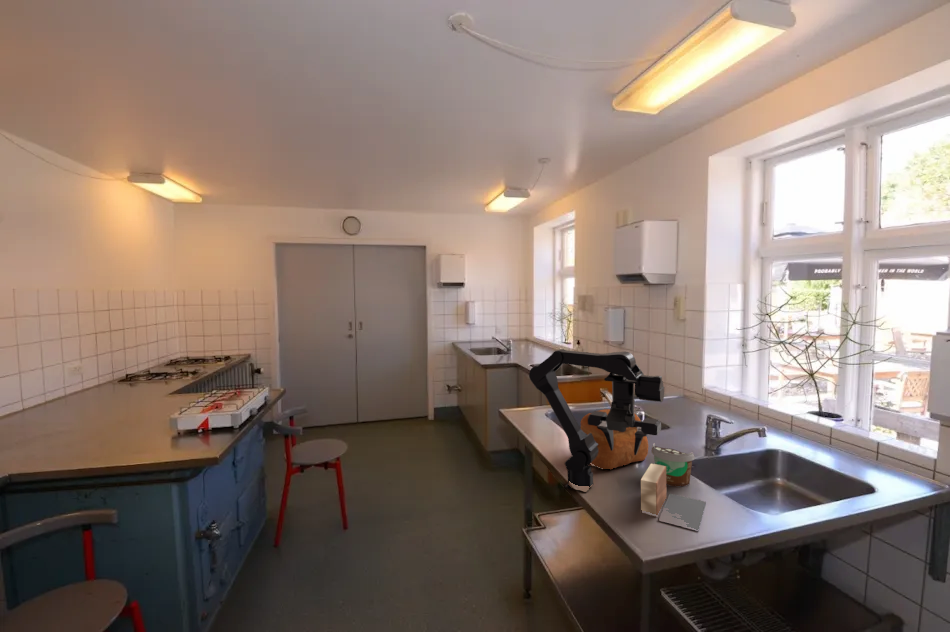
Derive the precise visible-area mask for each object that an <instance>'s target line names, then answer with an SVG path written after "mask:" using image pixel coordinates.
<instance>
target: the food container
mask: <svg viewBox="0 0 950 632" xmlns="http://www.w3.org/2000/svg"><path fill="white" fill-rule="evenodd" d="M651 454H652V455H653V459H654V464H657V465H662V466H666V484H667V485H666V486H669V485H670V486H671V487H676V486H681V487H686V485H687V486H689V485H690V481H691V475H692V474H691V473H692V466H693V461H694V460H695V454H694V452H693V451H691V452H690V453H689V452H688V453H686V452H682V451H680V450H676V449H673V448H668V447H667V448H666V447H660V446H657V445H656V443H655V442H654V443H653V444H652V446H651ZM688 484H689V485H688Z"/></svg>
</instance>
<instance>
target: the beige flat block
mask: <svg viewBox="0 0 950 632" xmlns="http://www.w3.org/2000/svg"><path fill="white" fill-rule="evenodd" d="M665 499H666V500H667V485H666V466H662V465H657V464H655V463H650V464H649V466H648V468H647V469H646V470H645V472H644V474H643V475H642V477H641V479H640V511H641V510H642V511H646V512H650V513H652V514H656V515H658V513H659V511H660V509H661V510H662V508H663V506H664V504H665V502H666V500H665ZM664 501H665V502H664ZM663 503H664V504H663ZM662 505H663V506H662ZM661 507H662V508H661ZM660 512H661V511H660ZM659 514H660V513H659ZM658 516H659V515H658Z"/></svg>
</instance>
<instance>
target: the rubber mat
mask: <svg viewBox="0 0 950 632" xmlns="http://www.w3.org/2000/svg"><path fill="white" fill-rule="evenodd" d="M706 503H707V502H706V501H704V500H700V499H695V498H691V497H687V496H683V495H677V494H673V493H669V495H668V496H667V497H666V500H665V502H664V504H663V507H664V508H668V509H669V510H666V511H668V512H669V513H671V514H675V513H677V514H679V515H682V516H680V517H681V518H677V517H676V516H672V517H674V518H677V519H681V520H684V522H686V523H689V524H686V525H687V527H691V528H694V529H696V530H698V529H699V530H700V527H699V526H701V523H702V519H703V516H702V515H704V512H705V508H706ZM703 511H704V512H703ZM700 522H701V523H700ZM699 530H698V531H699Z"/></svg>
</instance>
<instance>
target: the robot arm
mask: <svg viewBox="0 0 950 632" xmlns="http://www.w3.org/2000/svg"><path fill="white" fill-rule="evenodd" d="M562 365H570V366H571V365H572V366H577V367H579V366H580V367H587V368H588V367H589V368H597V369H601V370H603V371H605V372H607V373H609V374H608V375H607V376H606V377H604V381H605V382H611V385H612V387H611V389H612V391H611V393H612V395H611V396H612V397H611V398H612V400H611V404H610V408H609V409H610V412H609V413H608V415H607V413H606V412H600V411H599V410H594V411H592V412H590V413H591V414H590V415H589V416H588V425H593V426H597V428H598V429H600V430H602V431H603V433H604V435H605V437H606V439H607V442H608V444H609V447H610V450H611V451H612V450H613V446H614V438H613V430H615V431H619V432H624V431H626V428H629V427H632V428H633V427H636V428H637V429H638V430H637V431H636V433H635V446H634V455H636V454H637V452H638V449H639V447H640V444H641V441H642V439H643V437H644V436H646V437H647V436H649V435H650V436H658V435H659V433H660V432H661V431H662V422H661V421H660V420H659V419H656V418H650V417H645V418H644V419H643V420H641V421H637V420H635V414H636V413H635V404H636V402H635V401H636V399H635V396H636V398H638V400H640V401H648V402H656V403H663V402H664V399H665V386H664V382H663V376H662V375H644V373H643V371H642V370H641V368H640V367H639V365H638V364H637V362H636V358H635V356H634V355H633V354H632V353H631V352H630V351H616V352H615V351H614V352H608V353H607V352H605V353H599V352H598V353H597V352H585V351H577V350H576V351H575V350H567V349H563V348H561V349H557V350H555V351H553V352H552V353H551V355H550V356H548V357H547V358H546V359H545V360H543V361H542V362H541V363H540V364H538V365H536V366H535V365H534V366H533V367H531V368H530V370H529V374H528V378H529V380H530V382H531V383H532V384H533V386H534V387H535V388H536V390H538V391H539V392H540V393H541V394H543V395H544V396H545V398H546V400H547V402H548V404H549V405H550V406H549V407H550V408H551V409H552V411H553V413H554V415H555V417H556V418H557V420H558V422H559V424H560V426H561V428H562V429H563V431H564V433H565V434H566V435H565V436H566V437H567V440H568V449H569V452H570V454H571V456H570V457H569V458H568V459H566V461H565V462H564V465H565V469H566V470H567V484H565V488H566V489H569V490H570V489H571V487H570V486H569V485H568V482H569V481H570V482H571V483H573V484H575V485H578V486H589V487H590V486H591V485H592V484H593V485H594V472H593V471H592V466H591V465H589V464H590V463H591V462H592V461H593V460H594V459H595V458H596V457H597V455H598V452H599V450H598V447H597V446H598V443H596V441H595V440H594V437H593V435H592V433H589V434H588V435H587V434H586V433H585V432H583V431H582V429H581V428H580V427H581V425H580V424H579V422H578V420H577V419H576V417H575V416H574V414H573V412H572V410H571V408H570V406H569V404H568V403H567V401H566V399H565V398H564V395H563V394H562V392H561V390H560V389H559V381H558V377H557V376H558V375H557V374H556V372H557V371H558V370H559V369H560V368H561V366H562ZM634 413H635V414H634ZM571 490H572V489H571Z"/></svg>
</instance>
